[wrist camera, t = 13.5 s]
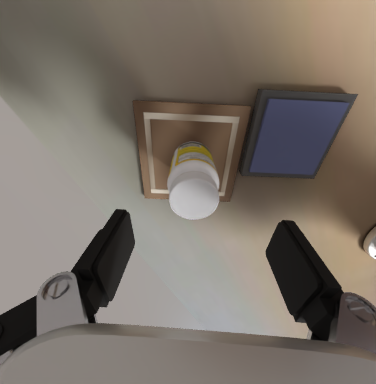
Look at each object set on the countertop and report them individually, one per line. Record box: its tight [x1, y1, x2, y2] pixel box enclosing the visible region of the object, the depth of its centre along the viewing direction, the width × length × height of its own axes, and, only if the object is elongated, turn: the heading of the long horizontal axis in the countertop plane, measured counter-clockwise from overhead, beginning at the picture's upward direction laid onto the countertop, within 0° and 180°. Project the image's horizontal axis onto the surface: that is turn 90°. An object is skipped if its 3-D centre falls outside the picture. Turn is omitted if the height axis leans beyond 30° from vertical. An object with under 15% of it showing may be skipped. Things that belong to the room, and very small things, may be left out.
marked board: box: [133, 100, 251, 202], centre depth 20 cm, size 12×12×1 cm
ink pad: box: [239, 89, 358, 179], centre depth 18 cm, size 9×9×2 cm
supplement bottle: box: [167, 141, 219, 220], centre depth 16 cm, size 5×5×8 cm
